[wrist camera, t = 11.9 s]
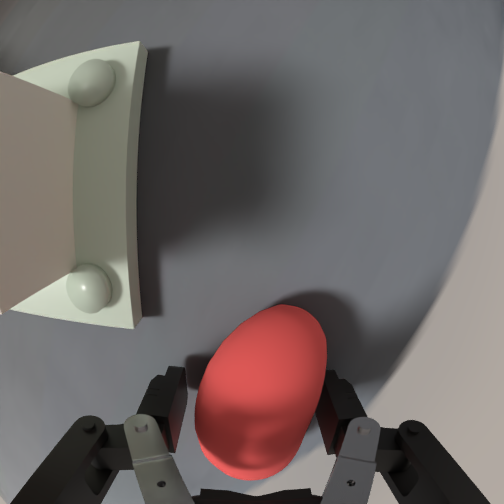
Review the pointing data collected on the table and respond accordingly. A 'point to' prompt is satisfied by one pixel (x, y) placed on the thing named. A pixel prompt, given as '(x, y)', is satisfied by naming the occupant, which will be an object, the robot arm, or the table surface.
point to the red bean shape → (261, 392)
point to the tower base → (72, 187)
